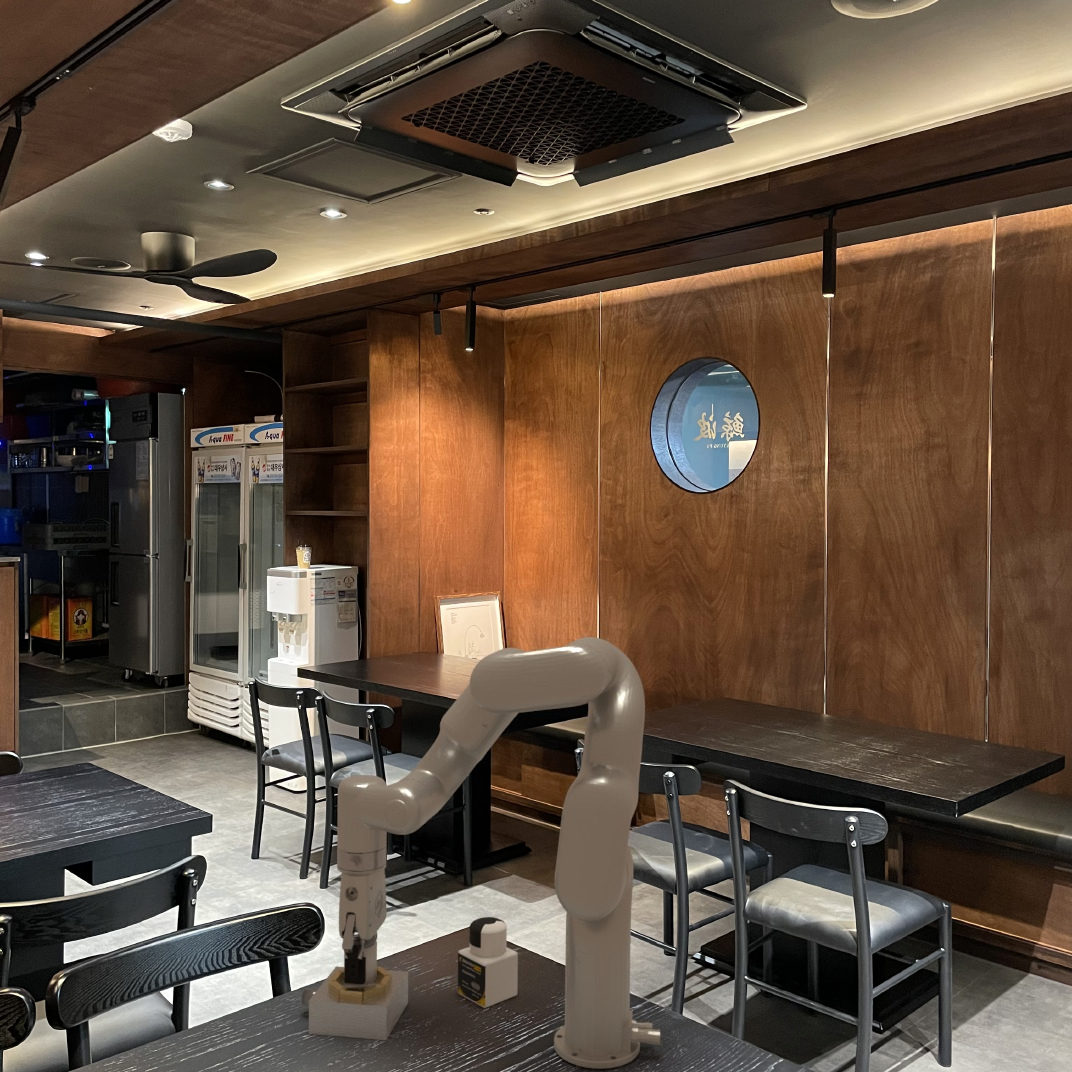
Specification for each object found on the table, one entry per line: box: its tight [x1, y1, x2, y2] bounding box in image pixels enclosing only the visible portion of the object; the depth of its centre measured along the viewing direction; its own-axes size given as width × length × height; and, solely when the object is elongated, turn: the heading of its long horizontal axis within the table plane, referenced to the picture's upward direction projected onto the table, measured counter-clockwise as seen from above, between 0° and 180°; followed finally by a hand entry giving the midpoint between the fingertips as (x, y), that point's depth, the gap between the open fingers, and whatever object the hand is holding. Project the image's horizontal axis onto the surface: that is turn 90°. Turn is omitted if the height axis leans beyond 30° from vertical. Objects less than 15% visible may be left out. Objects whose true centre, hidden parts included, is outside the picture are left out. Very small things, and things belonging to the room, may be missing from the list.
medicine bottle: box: [457, 916, 519, 1009], centre depth 164 cm, size 7×7×12 cm
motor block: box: [301, 965, 409, 1041], centre depth 156 cm, size 15×12×6 cm
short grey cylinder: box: [343, 933, 378, 985], centre depth 156 cm, size 5×5×6 cm
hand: (360, 973), depth 156 cm, fingers closed on short grey cylinder, 4 cm apart
